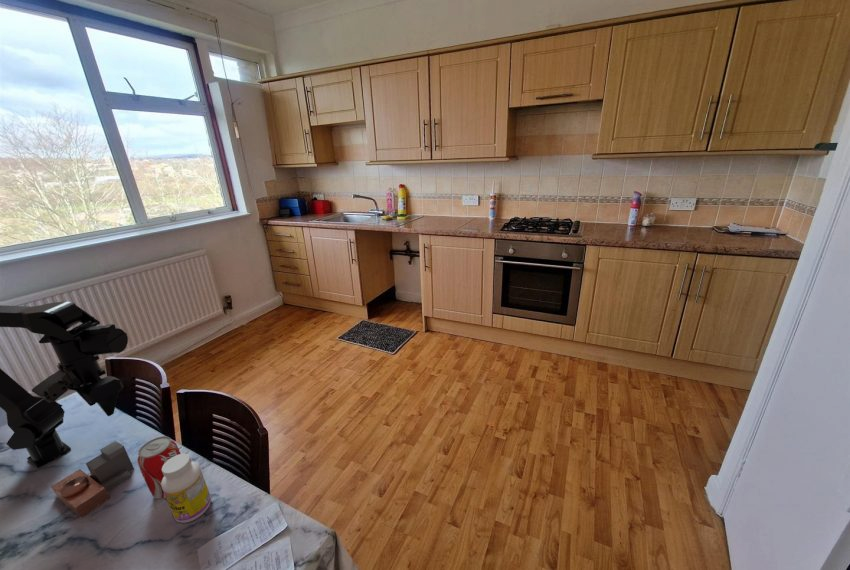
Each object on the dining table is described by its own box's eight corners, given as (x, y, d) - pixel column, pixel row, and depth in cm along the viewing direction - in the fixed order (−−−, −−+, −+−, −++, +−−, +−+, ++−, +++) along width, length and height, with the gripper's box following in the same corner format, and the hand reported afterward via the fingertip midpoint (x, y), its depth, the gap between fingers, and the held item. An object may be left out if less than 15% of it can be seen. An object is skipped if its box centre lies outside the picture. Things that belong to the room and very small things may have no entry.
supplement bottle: (168, 517, 72) (147, 470, 67) (199, 490, 77) (182, 445, 73) (188, 529, 69) (168, 482, 65) (218, 501, 75) (202, 455, 70)
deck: (56, 496, 78) (48, 483, 76) (110, 462, 86) (104, 450, 85) (81, 518, 72) (73, 504, 71) (135, 480, 81) (129, 467, 79)
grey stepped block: (95, 483, 81) (83, 459, 78) (125, 463, 86) (115, 440, 83) (104, 489, 79) (91, 465, 76) (134, 469, 84) (123, 445, 81)
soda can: (171, 504, 74) (153, 461, 70) (144, 499, 76) (125, 457, 72) (197, 476, 81) (182, 435, 77) (172, 472, 82) (156, 432, 78)
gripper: (12, 364, 78) (42, 420, 84) (46, 385, 70) (77, 444, 76) (75, 341, 88) (98, 393, 93) (112, 357, 79) (135, 412, 85)
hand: (101, 409), depth 86 cm, fingers open, 9 cm apart
